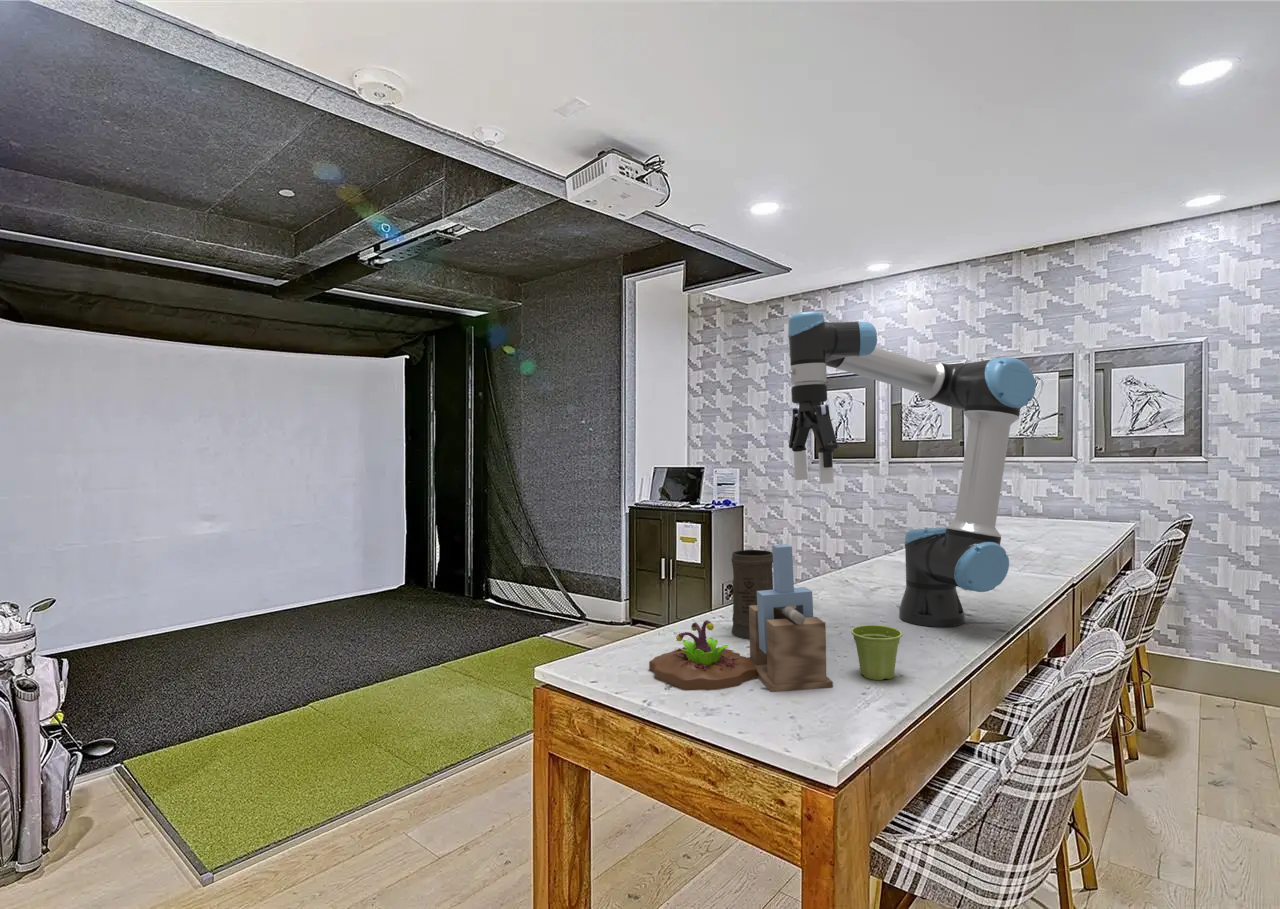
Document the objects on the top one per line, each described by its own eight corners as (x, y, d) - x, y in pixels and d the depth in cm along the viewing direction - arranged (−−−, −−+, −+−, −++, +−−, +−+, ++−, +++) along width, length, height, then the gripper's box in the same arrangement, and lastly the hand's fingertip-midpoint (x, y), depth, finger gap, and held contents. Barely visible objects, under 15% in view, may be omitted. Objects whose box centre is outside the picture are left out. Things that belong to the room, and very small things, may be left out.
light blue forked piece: (807, 643, 138) (802, 542, 137) (814, 649, 134) (810, 545, 133) (759, 648, 136) (754, 546, 136) (765, 654, 132) (760, 549, 132)
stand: (799, 658, 144) (798, 592, 144) (832, 687, 127) (831, 612, 127) (744, 662, 143) (743, 595, 142) (770, 691, 126) (769, 616, 126)
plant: (685, 699, 124) (684, 638, 124) (637, 668, 142) (636, 615, 142) (773, 679, 133) (772, 622, 133) (718, 653, 151) (717, 602, 151)
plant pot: (897, 687, 127) (896, 640, 126) (846, 679, 132) (845, 634, 131) (907, 672, 135) (906, 628, 134) (858, 664, 140) (858, 622, 139)
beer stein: (777, 641, 157) (775, 553, 158) (730, 639, 159) (728, 553, 160) (777, 627, 172) (775, 547, 173) (734, 626, 174) (733, 547, 175)
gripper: (772, 389, 161) (776, 479, 161) (816, 380, 136) (821, 486, 136) (802, 388, 162) (806, 477, 162) (851, 378, 137) (856, 483, 138)
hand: (813, 481), depth 149 cm, fingers open, 13 cm apart
